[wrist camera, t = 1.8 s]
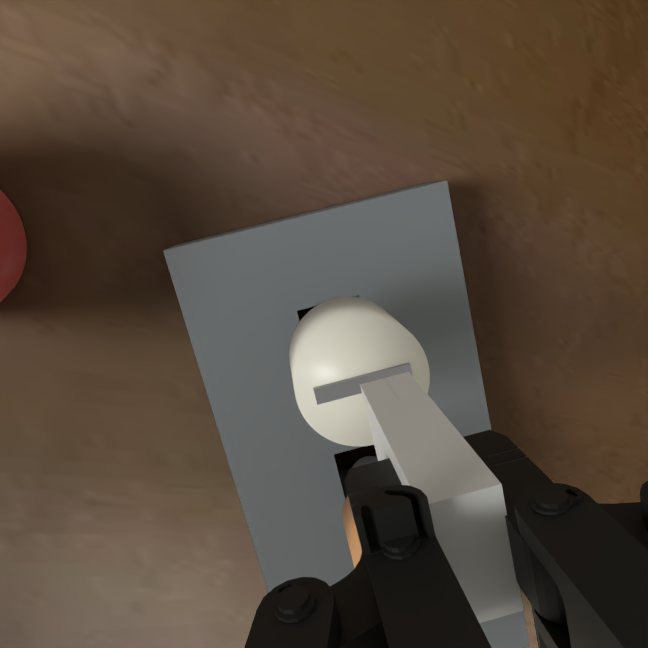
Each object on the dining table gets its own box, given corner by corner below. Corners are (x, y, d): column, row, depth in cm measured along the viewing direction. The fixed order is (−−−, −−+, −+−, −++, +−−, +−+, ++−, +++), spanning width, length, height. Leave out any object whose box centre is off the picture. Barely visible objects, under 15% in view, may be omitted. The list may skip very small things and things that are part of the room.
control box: (301, 657, 36) (305, 712, 32) (176, 244, 29) (163, 250, 26) (501, 599, 37) (529, 646, 33) (423, 183, 30) (446, 180, 26)
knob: (299, 391, 28) (312, 464, 20) (274, 297, 27) (279, 336, 19) (393, 366, 28) (442, 428, 20) (372, 273, 27) (417, 300, 19)
